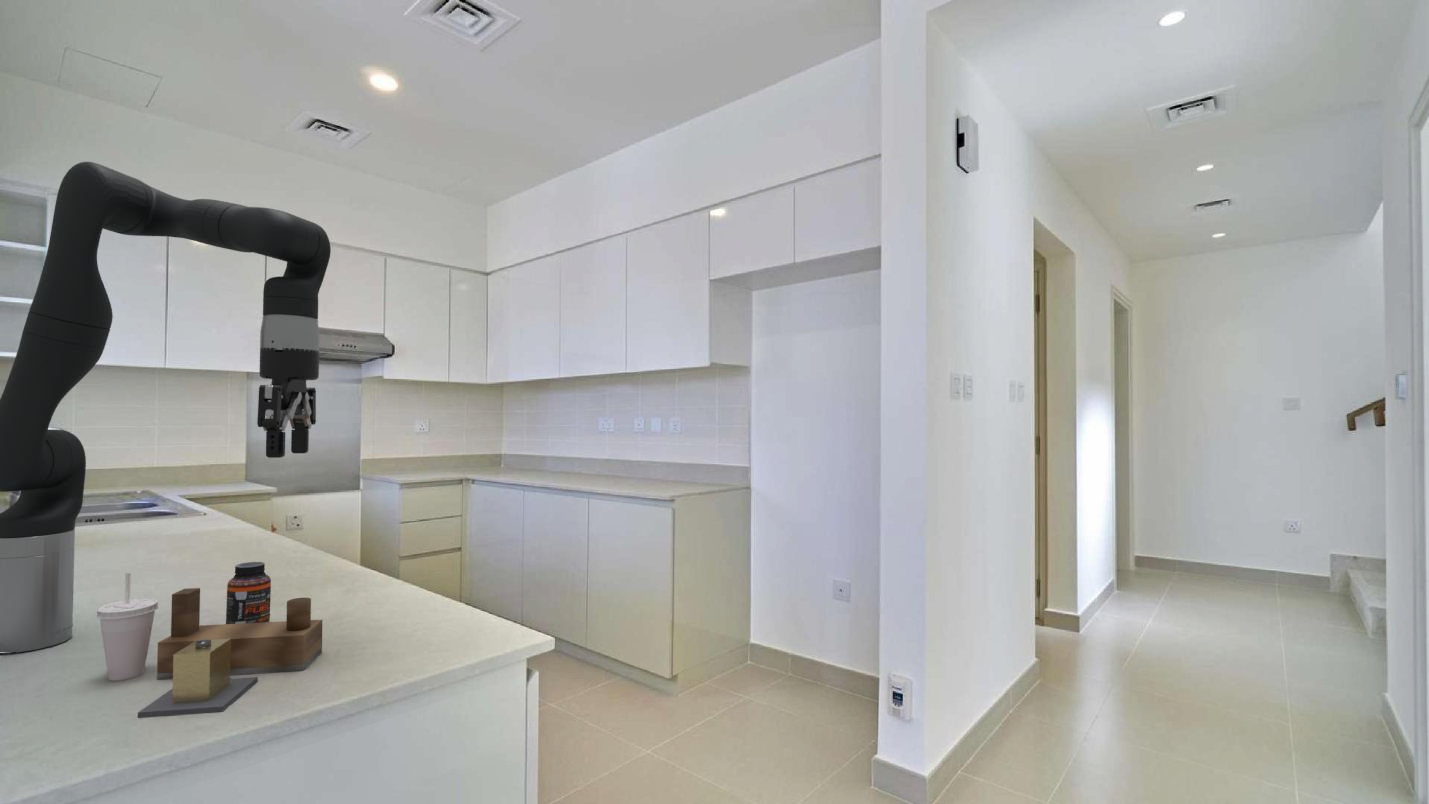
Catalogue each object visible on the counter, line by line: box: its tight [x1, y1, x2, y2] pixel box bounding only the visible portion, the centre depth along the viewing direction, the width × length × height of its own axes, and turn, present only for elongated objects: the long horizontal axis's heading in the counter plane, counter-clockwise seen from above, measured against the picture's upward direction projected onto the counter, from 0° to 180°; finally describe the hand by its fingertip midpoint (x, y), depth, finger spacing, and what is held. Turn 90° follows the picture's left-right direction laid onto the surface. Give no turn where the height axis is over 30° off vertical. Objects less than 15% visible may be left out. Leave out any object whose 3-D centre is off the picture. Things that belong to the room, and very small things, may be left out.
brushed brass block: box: [172, 639, 231, 703], centre depth 84 cm, size 4×5×7 cm
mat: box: [137, 676, 259, 718], centre depth 84 cm, size 9×9×1 cm
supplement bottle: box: [225, 561, 272, 624], centre depth 108 cm, size 6×6×11 cm
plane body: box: [156, 587, 323, 681], centre depth 95 cm, size 18×7×11 cm, turn 102°
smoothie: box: [96, 572, 159, 681], centre depth 91 cm, size 6×6×14 cm
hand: (288, 455), depth 99 cm, fingers open, 8 cm apart
